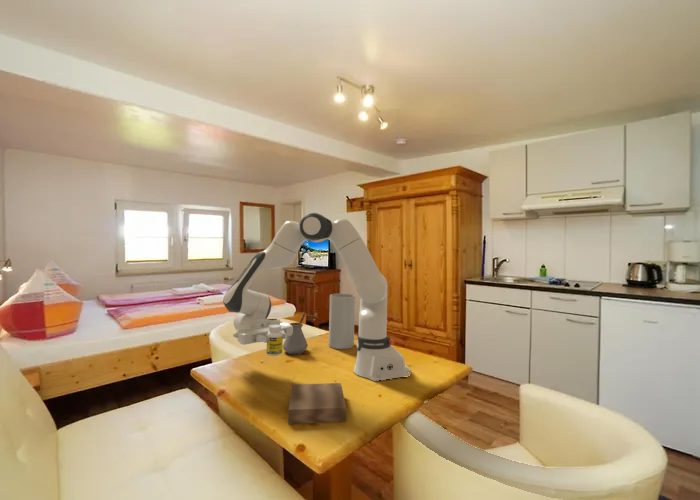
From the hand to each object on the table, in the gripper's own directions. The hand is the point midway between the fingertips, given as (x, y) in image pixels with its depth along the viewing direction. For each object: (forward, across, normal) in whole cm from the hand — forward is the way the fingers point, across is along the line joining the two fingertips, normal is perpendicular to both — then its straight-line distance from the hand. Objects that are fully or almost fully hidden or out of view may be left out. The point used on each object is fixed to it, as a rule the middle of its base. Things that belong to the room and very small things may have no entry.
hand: (276, 338), depth 110 cm
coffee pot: (-30, +28, +17) cm, 45 cm away
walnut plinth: (+22, +2, +17) cm, 27 cm away
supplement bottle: (-1, 0, +6) cm, 6 cm away
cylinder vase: (-20, +47, +17) cm, 54 cm away
